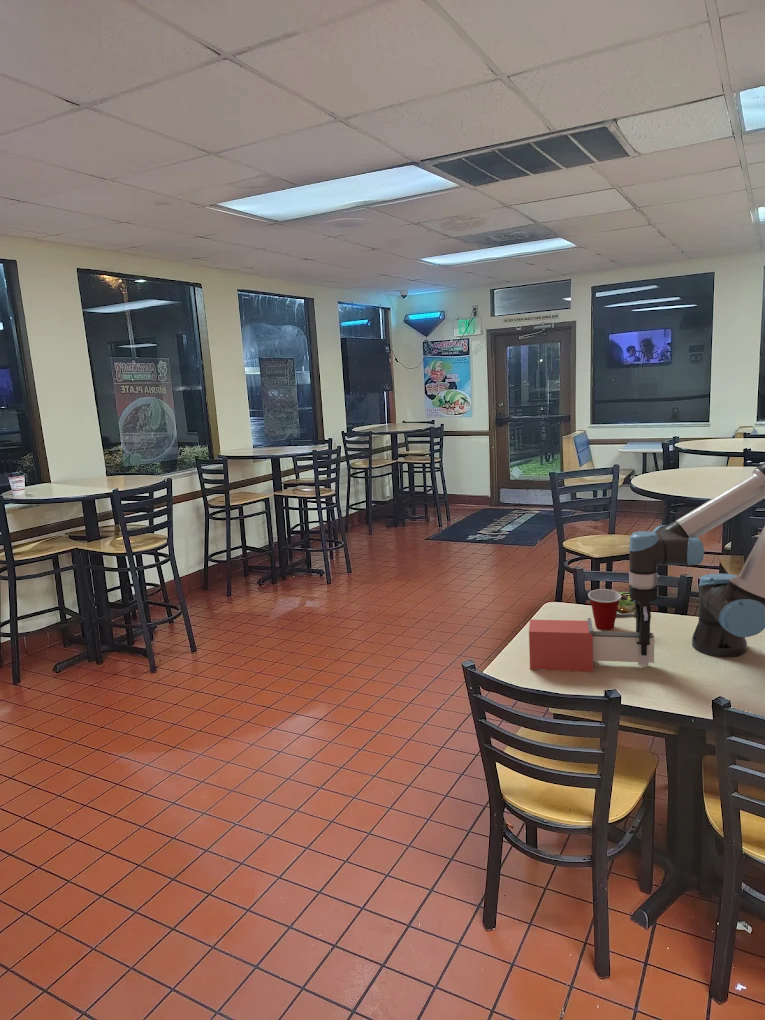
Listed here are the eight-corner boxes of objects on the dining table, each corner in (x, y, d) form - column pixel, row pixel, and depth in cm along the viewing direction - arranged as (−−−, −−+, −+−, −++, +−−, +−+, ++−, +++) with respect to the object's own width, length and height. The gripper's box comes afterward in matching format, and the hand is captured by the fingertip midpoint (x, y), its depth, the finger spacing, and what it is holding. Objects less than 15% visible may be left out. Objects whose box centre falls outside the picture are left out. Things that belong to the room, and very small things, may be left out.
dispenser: (530, 669, 201) (528, 629, 199) (530, 655, 211) (529, 616, 209) (593, 672, 197) (592, 630, 194) (591, 657, 207) (590, 618, 204)
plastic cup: (588, 632, 226) (587, 598, 223) (588, 621, 236) (587, 588, 233) (622, 634, 222) (622, 599, 220) (620, 622, 233) (620, 589, 230)
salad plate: (660, 618, 235) (660, 605, 234) (610, 622, 234) (610, 609, 234) (636, 600, 254) (636, 588, 253) (590, 604, 253) (589, 592, 253)
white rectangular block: (589, 660, 200) (589, 635, 198) (588, 656, 203) (588, 631, 201) (654, 662, 196) (654, 636, 194) (652, 658, 198) (652, 632, 197)
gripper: (661, 594, 185) (660, 674, 189) (653, 577, 200) (652, 651, 205) (632, 594, 187) (632, 673, 191) (626, 576, 202) (626, 650, 206)
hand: (642, 661), depth 198 cm, fingers closed on white rectangular block, 3 cm apart
